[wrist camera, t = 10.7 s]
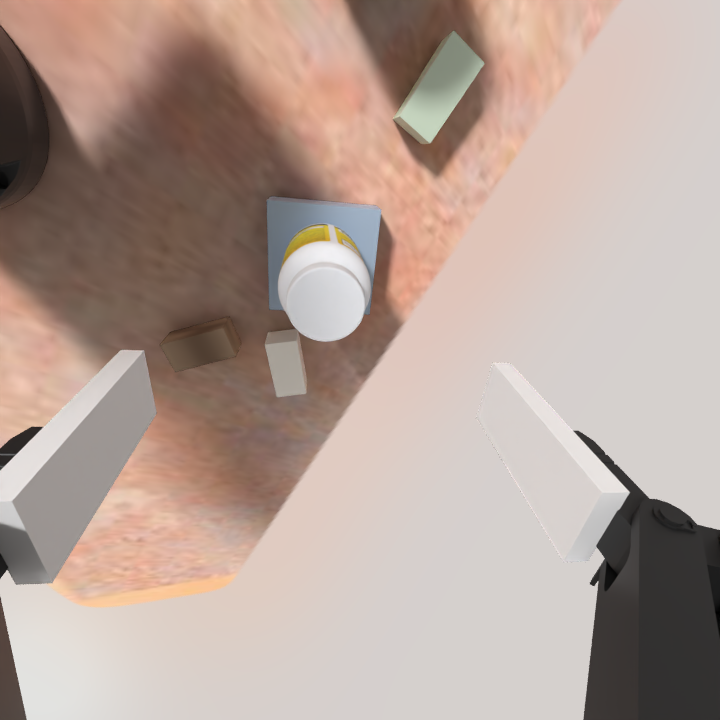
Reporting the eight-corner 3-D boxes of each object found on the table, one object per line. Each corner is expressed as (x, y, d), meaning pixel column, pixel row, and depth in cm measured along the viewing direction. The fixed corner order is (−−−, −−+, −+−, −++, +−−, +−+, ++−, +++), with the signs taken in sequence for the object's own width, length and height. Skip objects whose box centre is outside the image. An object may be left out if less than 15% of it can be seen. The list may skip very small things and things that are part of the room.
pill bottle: (280, 287, 32) (264, 343, 23) (291, 213, 30) (279, 241, 20) (349, 302, 34) (363, 361, 24) (367, 232, 31) (390, 267, 21)
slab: (272, 298, 36) (269, 309, 33) (270, 196, 32) (266, 199, 29) (365, 303, 37) (369, 314, 34) (376, 205, 33) (381, 209, 30)
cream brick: (306, 378, 41) (306, 393, 38) (279, 381, 41) (276, 397, 38) (298, 327, 38) (296, 340, 35) (268, 331, 38) (264, 344, 35)
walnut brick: (185, 357, 38) (175, 372, 36) (171, 331, 37) (159, 345, 34) (241, 342, 38) (236, 356, 35) (229, 315, 36) (222, 328, 34)
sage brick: (420, 144, 31) (430, 143, 28) (392, 119, 30) (399, 116, 27) (469, 71, 29) (484, 63, 26) (441, 41, 28) (453, 30, 25)
